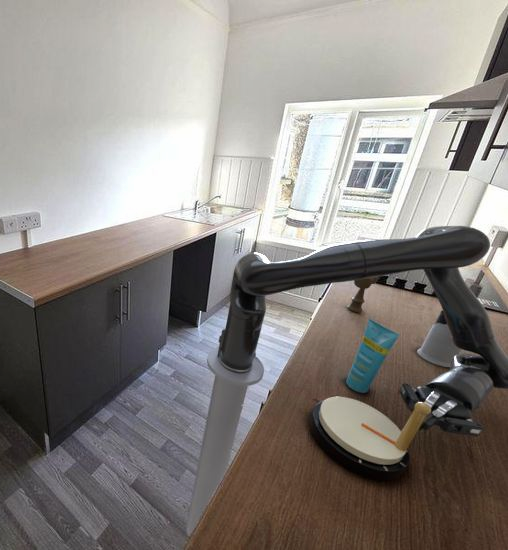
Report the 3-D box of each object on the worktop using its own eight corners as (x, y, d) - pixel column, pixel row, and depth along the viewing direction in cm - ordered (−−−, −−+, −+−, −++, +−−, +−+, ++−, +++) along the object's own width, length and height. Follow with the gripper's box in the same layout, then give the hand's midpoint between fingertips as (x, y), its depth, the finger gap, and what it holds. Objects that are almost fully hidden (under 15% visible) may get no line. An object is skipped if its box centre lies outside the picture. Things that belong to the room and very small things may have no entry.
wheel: (307, 424, 63) (325, 377, 57) (332, 391, 72) (349, 348, 67) (395, 482, 52) (426, 431, 47) (411, 435, 62) (438, 388, 57)
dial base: (292, 424, 66) (296, 414, 65) (337, 399, 74) (341, 390, 73) (375, 498, 53) (382, 487, 52) (419, 458, 60) (426, 448, 59)
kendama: (366, 309, 120) (385, 263, 112) (358, 316, 114) (378, 269, 106) (349, 303, 124) (366, 259, 116) (341, 310, 118) (358, 263, 110)
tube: (337, 378, 81) (362, 318, 73) (350, 375, 83) (375, 316, 75) (364, 398, 75) (393, 335, 67) (377, 394, 76) (407, 332, 69)
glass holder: (410, 351, 95) (431, 311, 89) (437, 344, 99) (458, 305, 93) (443, 369, 87) (468, 326, 81) (471, 360, 92) (496, 319, 86)
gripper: (423, 360, 66) (384, 384, 59) (509, 402, 56) (476, 438, 48) (410, 385, 69) (371, 412, 62) (489, 430, 59) (455, 469, 51)
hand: (417, 424), depth 55 cm, fingers closed
